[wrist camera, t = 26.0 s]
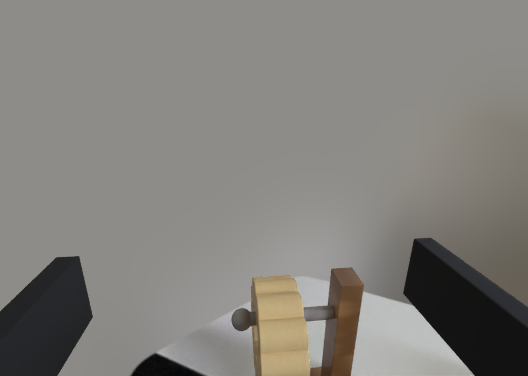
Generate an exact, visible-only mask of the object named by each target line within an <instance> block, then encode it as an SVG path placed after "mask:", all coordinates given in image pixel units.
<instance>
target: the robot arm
mask: <svg viewBox="0 0 528 376" xmlns="http://www.w3.org/2000/svg"><path fill="white" fill-rule="evenodd" d="M403 294H404V295H405V296H406V297H407V298H408V299H409V301H410V302H411V303H412V304H413V305H414V306H415V308H416V309H417V310H418V311H419V312H420V313H421V314H422V316H423V317H424V318H425V319H426V320H427V321H428V322H429V324H430V325H431V326H432V327H433V328H434V329H435V331H436V332H437V333H438V334H439V335H440V336H441V337H442V339H443V340H444V341H445V342H446V343H447V344H448V345H449V347H450V348H451V349H452V350H453V351H454V352H455V353H456V355H457V356H458V357H459V358H460V359H461V360H462V362H463V363H464V364H465V365H466V366H467V367H468V368H469V370H470V371H471V372H472V373H473V374H474V375H475V376H528V307H527V306H525V305H524V304H523V303H521V302H520V301H518V300H517V299H516V298H514V297H513V296H512V295H510V294H509V293H507V292H506V291H504V290H503V289H502V288H500V287H499V286H498V285H496V284H495V283H493V282H492V281H490V280H489V279H488V278H486V277H485V276H484V275H482V274H481V273H479V272H478V271H476V270H475V269H474V268H472V267H471V266H469V265H468V264H467V263H465V262H464V261H463V260H461V259H460V258H458V257H457V256H456V255H454V254H453V253H451V252H450V251H449V250H447V249H446V248H444V247H443V246H442V245H440V244H439V243H438V242H436V241H435V240H433V239H432V238H419V239H414V242H413V247H412V253H411V257H410V262H409V267H408V272H407V277H406V282H405V287H404V292H403ZM92 317H93V316H92V311H91V307H90V302H89V298H88V293H87V289H86V285H85V280H84V276H83V272H82V267H81V263H80V258H79V256H75V257H57V258H55V259H54V260H53V261H52V262H51V263H50V264H49V265H48V266H47V267H46V268H45V269H44V270H43V271H42V272H41V273H40V274H39V275H38V276H37V277H36V278H35V279H33V280H32V281H31V282H30V283H29V284H28V285H27V286H26V287H25V288H24V289H23V290H22V291H21V292H20V293H19V294H18V295H17V296H16V297H15V298H14V299H13V300H12V301H11V302H10V303H9V304H7V305H6V306H5V307H4V308H3V309H2V310H1V311H0V376H57V375H58V374H59V372H60V370H61V369H62V367H63V365H64V364H65V362H66V361H67V359H68V357H69V356H70V354H71V352H72V350H73V349H74V347H75V346H76V344H77V342H78V341H79V339H80V337H81V336H82V334H83V332H84V330H85V329H86V327H87V326H88V324H89V322H90V321H91V319H92Z"/></svg>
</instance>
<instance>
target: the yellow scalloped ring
mask: <svg viewBox="0 0 528 376" xmlns="http://www.w3.org/2000/svg"><path fill="white" fill-rule="evenodd" d="M251 298H252V301H251V311H252V312H253V311H255V312H256V323H257V326H252V336H253V351H254V365H255V374H256V376H310V359H309V353H308V330H307V325H306V321H305V318H304V310H303V303H302V298H301V295H300V293H299V292H298V288H297V284H296V280H295V279H294V278H291V276H289V275H287V276H271V277H256V278H252V286H251Z"/></svg>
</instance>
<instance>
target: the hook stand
mask: <svg viewBox="0 0 528 376" xmlns="http://www.w3.org/2000/svg"><path fill="white" fill-rule="evenodd" d="M363 287H364V284H363V283H362V281H361V280H360V278H359V277H358V275H357V274H356V273H355V271H354V270H353V268H338V269H332V270H331V279H330V288H329V298H328V306H317V307H304V308H303V310H304V318H305V321H317V320H326V328H325V338H324V348H323V358H322V367H317V368H310V376H351V369H352V363H353V356H354V349H355V342H356V335H357V328H358V321H359V315H360V308H361V301H362V294H363ZM232 325H233V327H234V328H235V329H236V330H238V331H245V330H247V329H248V328H249V327H250V326H257V323H256V312H255V311H253V312H249V311H248V310H247V309H244V308H241V309H238V310H236V311H235V312H234V313H233V315H232Z"/></svg>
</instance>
